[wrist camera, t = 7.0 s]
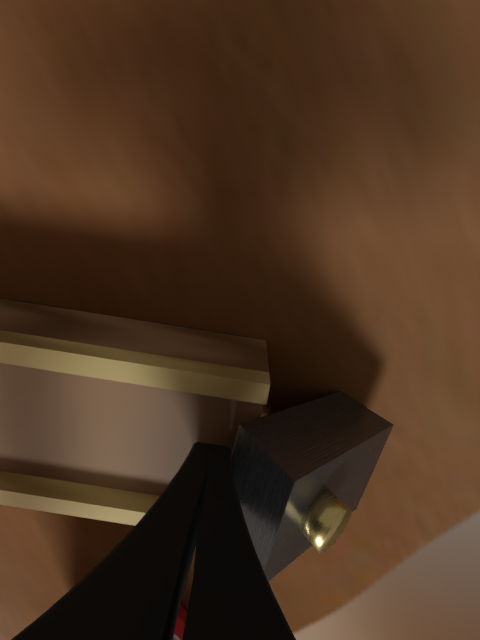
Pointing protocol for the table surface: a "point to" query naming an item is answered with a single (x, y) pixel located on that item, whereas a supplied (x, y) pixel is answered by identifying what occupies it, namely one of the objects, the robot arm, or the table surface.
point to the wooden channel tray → (114, 406)
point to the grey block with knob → (304, 474)
